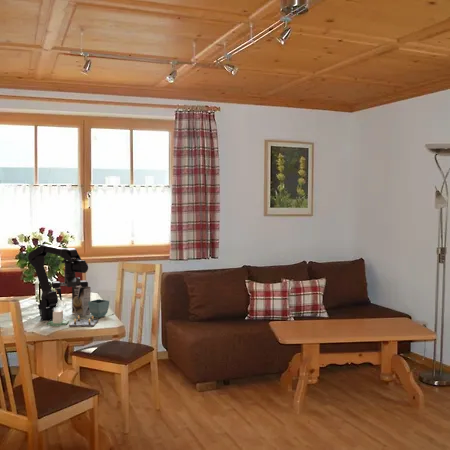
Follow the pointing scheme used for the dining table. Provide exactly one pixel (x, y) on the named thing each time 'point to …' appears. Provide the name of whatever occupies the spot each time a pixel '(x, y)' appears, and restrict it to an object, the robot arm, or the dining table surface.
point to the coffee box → (80, 301)
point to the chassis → (84, 322)
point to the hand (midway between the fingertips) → (69, 299)
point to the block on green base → (57, 319)
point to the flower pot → (98, 307)
